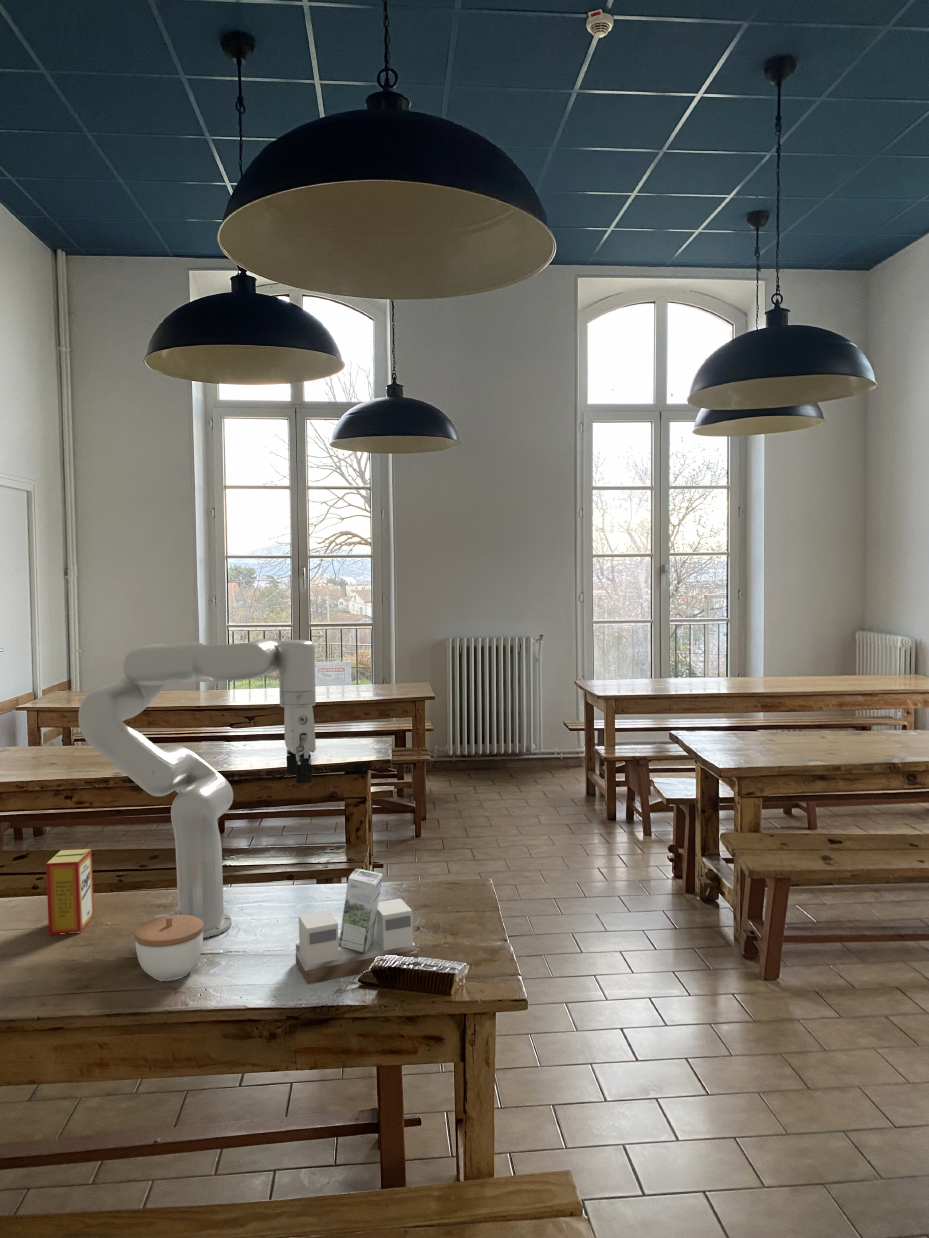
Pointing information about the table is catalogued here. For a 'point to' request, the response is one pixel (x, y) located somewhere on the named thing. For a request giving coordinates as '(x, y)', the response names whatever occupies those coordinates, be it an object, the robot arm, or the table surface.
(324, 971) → the rail board
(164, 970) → the lidded bowl
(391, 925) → the mounted modules
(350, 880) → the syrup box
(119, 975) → the table surface
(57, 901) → the baking soda box
